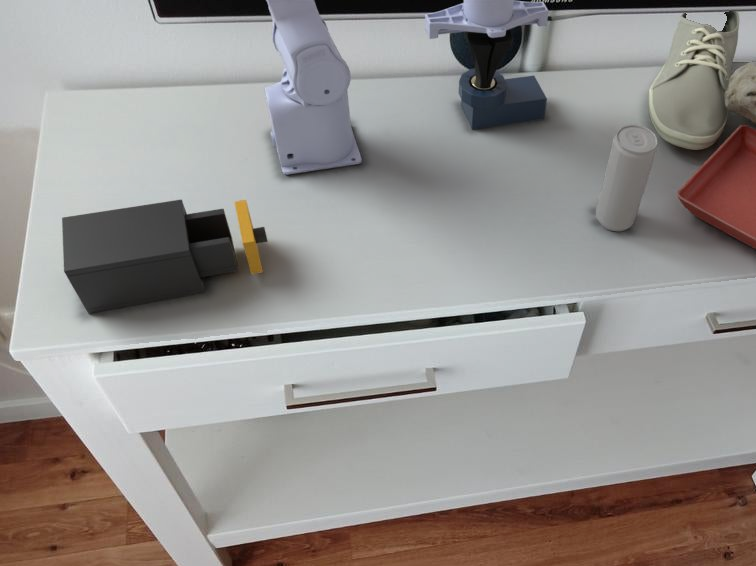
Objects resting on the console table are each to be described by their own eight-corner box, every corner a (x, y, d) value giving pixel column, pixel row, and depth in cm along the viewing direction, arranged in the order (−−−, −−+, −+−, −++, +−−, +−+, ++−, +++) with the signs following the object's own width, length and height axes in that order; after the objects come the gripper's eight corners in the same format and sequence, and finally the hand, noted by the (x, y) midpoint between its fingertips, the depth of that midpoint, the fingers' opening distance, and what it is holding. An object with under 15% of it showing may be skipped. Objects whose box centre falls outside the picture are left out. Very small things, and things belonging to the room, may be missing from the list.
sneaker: (631, 149, 101) (648, 94, 94) (667, 27, 117) (684, -27, 110) (713, 172, 100) (736, 119, 93) (738, 47, 116) (759, -7, 109)
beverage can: (627, 203, 95) (651, 122, 85) (639, 232, 92) (664, 151, 82) (590, 206, 94) (609, 124, 84) (600, 235, 92) (622, 154, 82)
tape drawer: (265, 229, 86) (257, 197, 82) (274, 270, 83) (266, 239, 79) (154, 247, 83) (141, 215, 79) (160, 290, 80) (146, 259, 76)
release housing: (465, 132, 100) (467, 99, 95) (452, 104, 103) (454, 70, 98) (545, 121, 102) (550, 88, 98) (530, 93, 105) (534, 60, 101)
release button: (474, 102, 98) (475, 90, 96) (467, 87, 99) (468, 75, 98) (497, 99, 99) (498, 87, 97) (489, 84, 100) (490, 72, 99)
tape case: (197, 242, 85) (181, 199, 80) (205, 292, 82) (189, 250, 76) (85, 261, 82) (61, 217, 77) (88, 314, 79) (63, 271, 73)
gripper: (437, 1, 83) (436, 109, 94) (563, -12, 86) (547, 93, 97) (419, -35, 86) (421, 73, 97) (541, -45, 90) (529, 60, 101)
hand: (483, 81), depth 98 cm, fingers closed, pressing on release button
